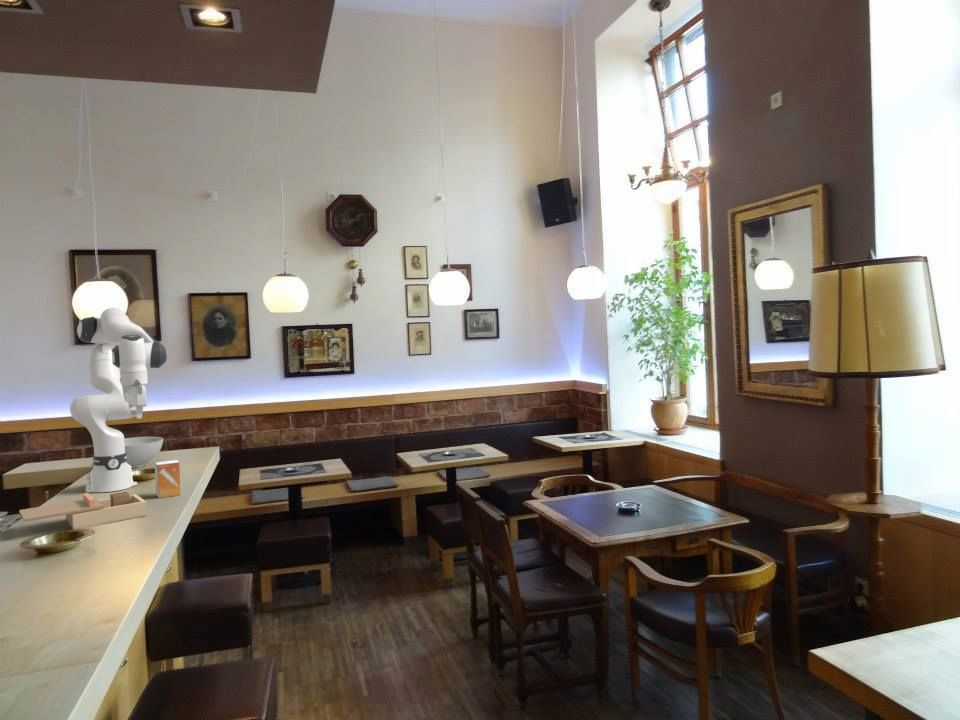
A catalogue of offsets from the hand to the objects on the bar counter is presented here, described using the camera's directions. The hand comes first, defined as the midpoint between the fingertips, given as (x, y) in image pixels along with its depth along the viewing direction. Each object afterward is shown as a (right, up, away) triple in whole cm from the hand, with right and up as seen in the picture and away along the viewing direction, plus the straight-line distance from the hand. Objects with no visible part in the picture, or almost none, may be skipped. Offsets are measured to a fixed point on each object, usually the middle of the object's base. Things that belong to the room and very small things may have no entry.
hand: (136, 416), depth 249 cm
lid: (-11, -29, -26) cm, 40 cm away
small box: (+6, -32, +13) cm, 35 cm away
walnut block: (+2, -33, -15) cm, 36 cm away
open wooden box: (-1, -33, -17) cm, 38 cm away
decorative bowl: (-39, -30, +74) cm, 88 cm away
